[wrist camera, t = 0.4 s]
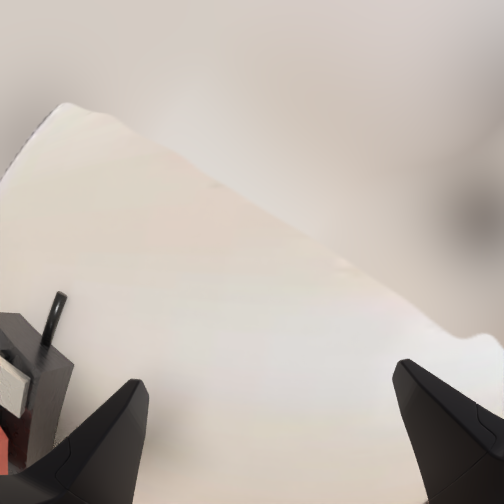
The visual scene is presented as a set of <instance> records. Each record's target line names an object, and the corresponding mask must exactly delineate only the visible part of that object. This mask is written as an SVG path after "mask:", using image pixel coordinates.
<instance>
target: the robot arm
mask: <svg viewBox="0 0 504 504" xmlns="http://www.w3.org/2000/svg"><path fill="white" fill-rule="evenodd" d="M392 381H393V385H394V389H395V393H396V397H397V401H398V405H399V409H400V412H401V416H402V419H403V422H404V424H405V427H406V430H407V433H408V436H409V439H410V441H411V444H412V447H413V450H414V453H415V456H416V459H417V463H418V466H419V469H420V472H421V475H422V479H423V482H424V486H425V489H426V493H427V496H428V500H429V504H504V419H502V418H500V417H499V416H497V415H495V414H493V413H491V412H490V411H488V410H487V409H485V408H483V407H482V406H480V405H479V404H476V402H474V401H473V400H471V399H470V398H468V397H466V396H465V395H463V394H462V393H460V392H459V391H457V390H456V389H454V388H453V387H451V386H450V385H448V384H447V383H445V382H444V381H442V380H441V379H439V378H438V377H436V376H435V375H433V374H432V373H430V372H428V371H427V370H425V369H424V368H422V367H421V366H419V365H418V364H416V363H415V362H413V361H412V360H410V359H404V360H400V361H399V362H398V363H397V365H396V368H395V371H394V373H393V377H392ZM148 406H149V394H148V392H147V390H146V388H145V385H144V383H143V381H142V380H140V379H130V380H128V381H127V382H126V383H125V384H124V385H123V386H122V387H121V388H120V389H119V390H118V391H117V392H116V393H114V394H113V395H112V396H111V397H110V398H109V399H108V400H107V401H106V402H105V403H104V404H103V405H101V406H100V407H99V408H98V409H97V410H96V411H95V412H94V413H93V414H92V415H91V416H90V417H88V418H87V419H86V420H85V421H84V422H83V423H82V424H81V425H80V426H79V427H78V428H76V429H75V430H74V431H73V432H72V433H71V434H70V435H69V437H66V438H65V439H64V440H63V441H62V442H61V443H60V444H59V445H57V446H56V447H55V448H54V449H53V450H51V451H50V452H49V453H47V454H46V455H45V456H43V457H42V458H41V459H39V460H38V461H36V462H35V463H33V464H32V465H31V466H29V467H28V468H26V469H25V470H23V471H21V472H19V473H16V474H11V475H0V504H132V502H133V496H134V491H135V485H136V479H137V474H138V469H139V464H140V459H141V454H142V449H143V445H144V440H145V434H146V425H147V415H148Z"/></svg>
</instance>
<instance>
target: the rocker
mask: <svg viewBox="0 0 504 504" xmlns="http://www.w3.org/2000/svg"><path fill="white" fill-rule="evenodd" d="M0 475H8V438H7V436H6V434H5V433H4V431H3V430H2V428H1V426H0Z"/></svg>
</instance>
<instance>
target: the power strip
mask: <svg viewBox="0 0 504 504" xmlns="http://www.w3.org/2000/svg"><path fill="white" fill-rule="evenodd" d="M66 299H67V296H66V295H65V294H64V293H62V292H59V291H58V292H57V294H56V297H55V299H54V302H53V305H52V308H51V310H50V313H49V316H48V319H47V322H46V326H45V329H44V332H43V335H42V336H41V335H40V334H39V333H38V332H37V331H36V330H35V329H34V328H33V327H32V326H31V325H30V324H29V323H28V322H27V321H26V320H25V319H24V318H23V317H22V315H21V314H20V313H1V312H0V426H1V428H2V430H3V431H4V433H5V434H6V436H7V438H8V475H11V474H16V473H19V472H21V471H23V470H25V469H26V468H28V467H29V466H31V465H32V464H33V463H35V462H36V461H38V460H39V459H41V458H42V457H43V456H45V455H46V454H47V453H49V452H50V451H51V450H52V448H53V443H54V438H55V433H56V429H57V425H58V420H59V416H60V412H61V408H62V405H63V401H64V397H65V394H66V390H67V387H68V383H69V380H70V377H71V374H72V370H73V367H74V364H73V363H72V362H71V361H70V360H68V359H67V358H66V357H65V356H64V355H62V354H61V353H60V352H59V351H58V350H57V349H56V348H54V347H53V346H52V345H51V342H52V339H53V336H54V332H55V329H56V326H57V323H58V321H59V318H60V315H61V312H62V309H63V307H64V304H65V301H66Z"/></svg>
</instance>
